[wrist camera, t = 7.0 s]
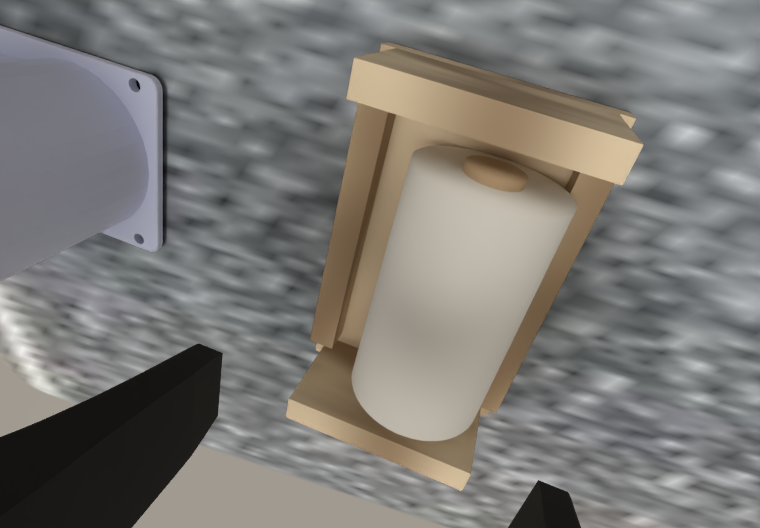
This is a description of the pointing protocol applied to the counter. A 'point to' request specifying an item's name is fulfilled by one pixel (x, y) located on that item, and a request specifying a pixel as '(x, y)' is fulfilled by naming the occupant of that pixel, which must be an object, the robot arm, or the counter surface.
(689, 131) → the counter surface
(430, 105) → the holder
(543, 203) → the paper roll
